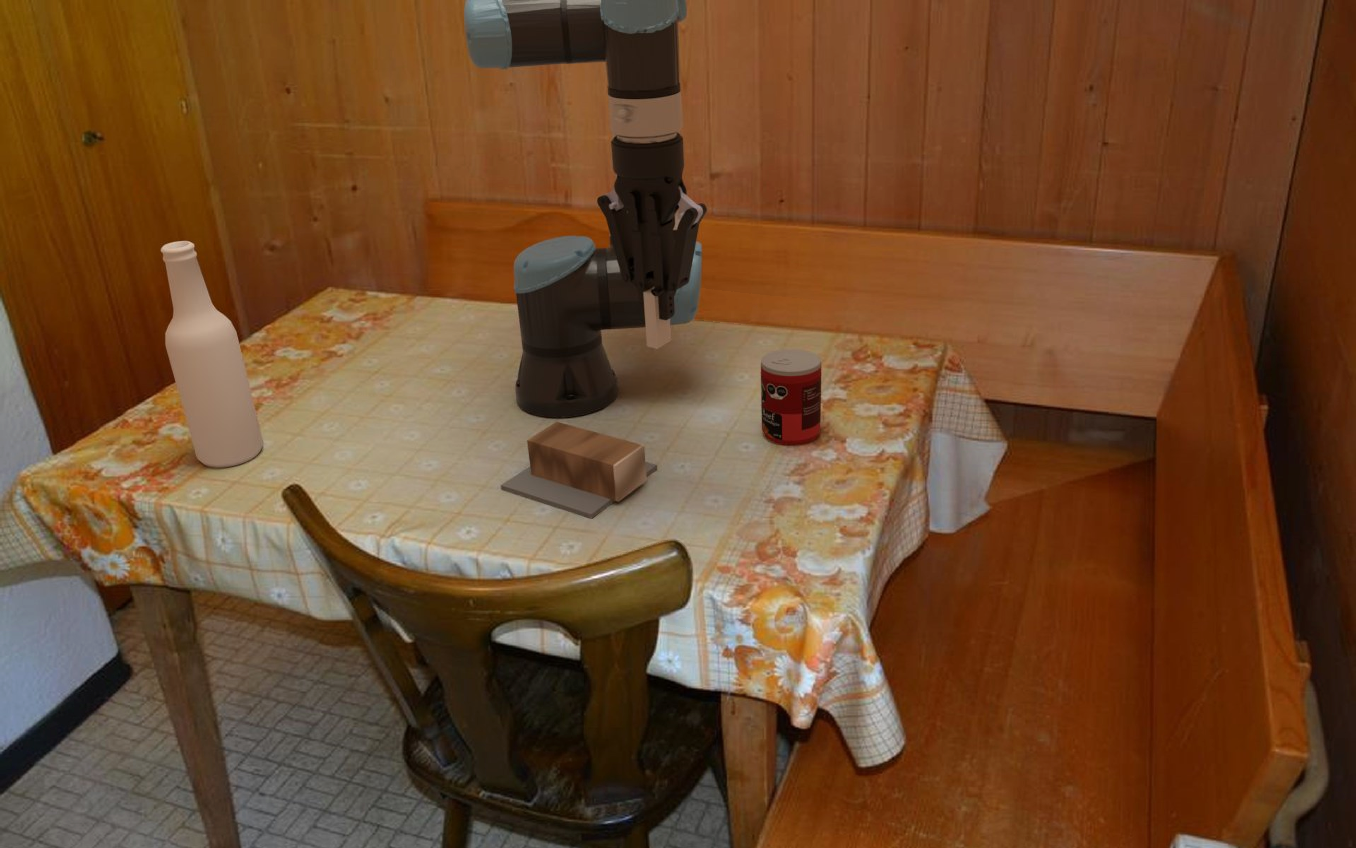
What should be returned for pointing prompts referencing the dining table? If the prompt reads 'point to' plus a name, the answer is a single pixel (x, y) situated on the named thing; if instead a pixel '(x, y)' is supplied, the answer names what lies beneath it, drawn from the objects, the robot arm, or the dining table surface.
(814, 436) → the canned food
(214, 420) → the alcohol
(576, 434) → the walnut block
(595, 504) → the mat
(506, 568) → the dining table surface
